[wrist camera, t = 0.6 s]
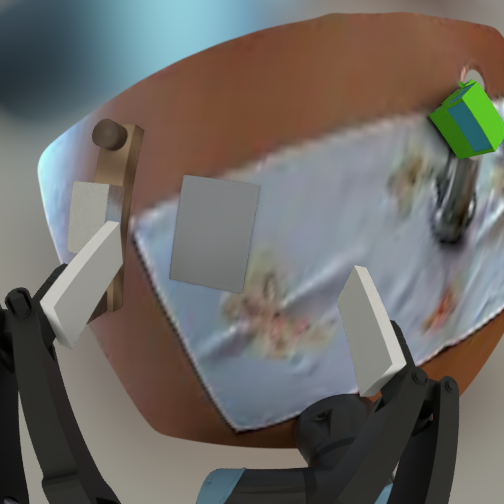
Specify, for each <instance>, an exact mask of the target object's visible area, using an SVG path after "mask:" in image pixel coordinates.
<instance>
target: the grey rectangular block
mask: <svg viewBox="0 0 504 504" xmlns="http://www.w3.org/2000/svg"><path fill="white" fill-rule="evenodd" d="M124 193H125V187H124V186H117V185H110V184H100V183H88V182H74V185H73V192H72V199H71V208H70V218H69V231H68V251H69V252H72V253H76V254H78V253H79V252H80V251H81V250H82V248H83V247H84V246H85V245H86V244H87V243H88V242H89V241H90V239H91V238H92V237H93V236H94V235H95V234H96V233H97V232H98V231H99V230H100V229H101V228H102V226H103V225H104V224H105V223H106V222H107V221H113V222H119V223H120V224H121V215H122V207H123V200H124Z"/></svg>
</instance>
